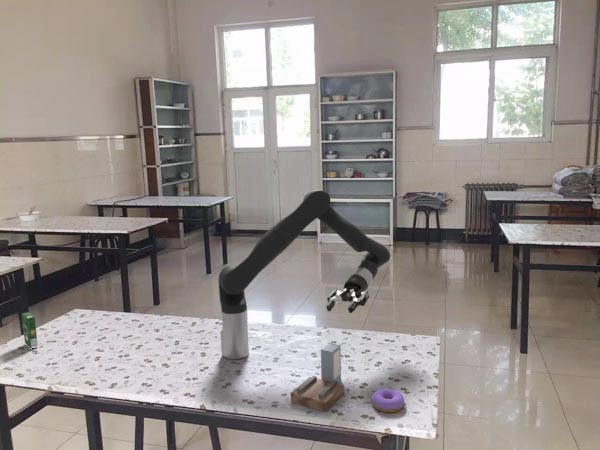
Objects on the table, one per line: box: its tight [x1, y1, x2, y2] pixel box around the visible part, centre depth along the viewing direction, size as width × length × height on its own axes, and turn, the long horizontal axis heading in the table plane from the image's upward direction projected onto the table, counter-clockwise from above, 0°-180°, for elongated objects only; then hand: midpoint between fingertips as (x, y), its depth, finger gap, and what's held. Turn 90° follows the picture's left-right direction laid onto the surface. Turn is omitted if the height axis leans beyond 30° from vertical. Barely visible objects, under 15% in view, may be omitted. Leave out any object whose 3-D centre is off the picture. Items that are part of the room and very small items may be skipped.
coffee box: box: [21, 312, 39, 349], centre depth 200 cm, size 8×3×13 cm, turn 44°
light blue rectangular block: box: [320, 342, 342, 383], centre depth 162 cm, size 4×6×12 cm
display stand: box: [290, 375, 345, 413], centre depth 153 cm, size 12×12×4 cm
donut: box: [371, 388, 405, 413], centre depth 148 cm, size 10×9×5 cm
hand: (338, 310), depth 170 cm, fingers open, 8 cm apart
